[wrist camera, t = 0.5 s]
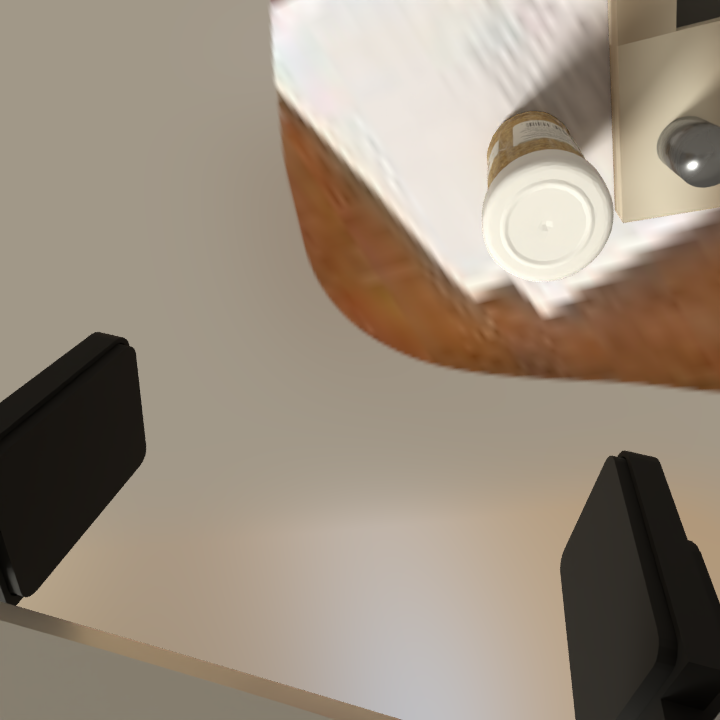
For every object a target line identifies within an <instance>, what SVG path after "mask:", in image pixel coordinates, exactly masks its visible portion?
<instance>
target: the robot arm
mask: <svg viewBox="0 0 720 720" xmlns="http://www.w3.org/2000/svg"><path fill="white" fill-rule="evenodd" d="M145 454H146V441H145V432H144V423H143V415H142V405H141V396H140V387H139V378H138V368H137V360H136V352H135V350H134V348H133V347H130V346H129V343H128V341H127V340H126V339H125V338H123V337H118V336H114V335H109V334H105V333H101V332H95V333H93V334H91V335H90V336H89V337H87V338H86V339H85V340H84V341H82V342H81V343H79V344H78V345H77V346H75V347H74V348H73V349H71V350H70V351H69V352H67V353H66V354H65V355H63V356H62V357H61V358H59V359H58V360H57V361H55V362H54V363H53V364H51V365H50V366H49V367H47V368H46V369H45V370H43V371H42V372H41V373H40V374H38V375H37V376H35V377H34V378H33V379H31V380H30V381H29V382H27V383H26V384H25V385H24V386H22V387H21V388H19V389H18V390H17V391H15V392H14V393H13V394H11V395H10V396H9V397H7V398H6V399H5V400H3V401H2V402H1V403H0V720H401V719H398V718H394V717H391V716H388V715H384V714H381V713H377V712H374V711H371V710H367V709H364V708H361V707H358V706H354V705H351V704H348V703H344V702H341V701H338V700H335V699H331V698H328V697H324V696H321V695H318V694H315V693H311V692H308V691H305V690H301V689H297V688H294V687H291V686H288V685H284V684H281V683H278V682H274V681H271V680H267V679H264V678H261V677H257V676H254V675H250V674H247V673H244V672H240V671H237V670H234V669H230V668H227V667H224V666H220V665H217V664H213V663H210V662H206V661H203V660H200V659H196V658H193V657H190V656H186V655H183V654H179V653H176V652H173V651H169V650H166V649H163V648H159V647H155V646H152V645H149V644H146V643H142V642H138V641H135V640H132V639H128V638H124V637H121V636H118V635H114V634H110V633H107V632H104V631H101V630H97V629H94V628H90V627H87V626H83V625H80V624H76V623H73V622H70V621H66V620H63V619H59V618H56V617H52V616H49V615H45V614H42V613H39V612H35V611H32V610H28V609H25V608H21V607H18V606H16V605H17V604H18V603H19V601H20V600H21V599H22V598H23V597H28V596H31V595H32V594H34V593H35V592H36V591H37V590H38V588H39V587H40V586H41V585H42V584H43V582H44V581H45V580H46V579H47V578H48V576H49V575H50V574H51V573H52V571H53V570H54V569H55V568H56V566H57V565H58V564H59V563H60V562H61V561H62V559H63V558H64V557H65V556H66V555H67V553H68V552H69V551H70V550H71V549H72V547H73V546H74V544H76V542H77V541H78V540H79V539H80V538H81V536H82V535H83V534H84V533H85V531H86V530H87V529H88V528H89V527H90V526H91V524H92V523H93V522H94V521H95V519H96V518H97V517H98V516H99V515H100V513H101V512H102V511H103V510H104V509H105V507H106V506H107V505H108V504H109V503H110V501H111V500H112V499H113V498H114V496H115V495H116V494H117V493H118V492H119V490H120V489H121V488H122V487H123V486H124V484H125V483H126V482H127V481H128V480H129V478H130V477H131V476H132V475H133V473H134V472H135V471H136V470H137V469H138V467H139V466H140V465H141V463H142V462H143V459H144V457H145ZM560 573H561V582H562V593H563V602H564V612H565V622H566V631H567V641H568V650H569V661H570V670H571V680H572V690H573V699H574V709H575V719H576V720H720V603H719V600H718V598H717V595H716V592H715V590H714V587H713V584H712V582H711V579H710V576H709V573H708V571H707V568H706V565H705V563H704V560H703V558H702V555H701V552H700V551H699V549H698V547H697V545H696V544H694V543H693V542H692V541H689V540H687V537H686V534H685V531H684V528H683V526H682V523H681V520H680V518H679V514H678V512H677V509H676V506H675V503H674V500H673V498H672V495H671V492H670V489H669V486H668V484H667V481H666V478H665V476H664V472H663V470H662V467H661V464H660V462H659V460H658V459H657V458H655V457H651V456H647V455H642V454H638V453H633V452H628V451H622V452H621V453H620V454H619V455H618V457H615V456H609V457H608V458H607V460H606V462H605V463H604V466H603V468H602V470H601V472H600V474H599V476H598V478H597V481H596V483H595V485H594V487H593V489H592V491H591V493H590V496H589V498H588V500H587V502H586V504H585V506H584V508H583V511H582V513H581V515H580V517H579V519H578V521H577V524H576V526H575V528H574V530H573V532H572V534H571V536H570V539H569V541H568V543H567V545H566V547H565V550H564V552H563V555H562V558H561V567H560Z"/></svg>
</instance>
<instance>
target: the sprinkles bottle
mask: <svg viewBox="0 0 720 720" xmlns="http://www.w3.org/2000/svg"><path fill="white" fill-rule="evenodd" d="M487 161H488V173H487V183H488V190H487V193H486V195H485V199H484V202H483V208H482V233H483V238H484V242H485V245H486V248H487V250H488V252H489V253H490V255H491V257H492V258H493V259H494V261H495V262H496V263H497V264H498V265H499V266H500V267H501V268H503V269H504V270H505V271H506V272H508V273H510V274H511V275H514V276H516V277H518V278H521V279H524V280H529V281H536V282H547V281H555V280H559V279H563V278H566V277H568V276H571V275H573V274H575V273H577V272H579V271H580V270H582V269H583V268H585V267H586V266H587V265H589V264H590V263H591V262H592V261H593V260H594V259H595V258H596V257H597V256H598V255H599V253H600V252H601V251H602V249H603V247H604V246H605V244H606V242H607V240H608V238H609V235H610V233H611V229H612V224H613V203H612V198H611V195H610V193H609V190H608V188H607V186H606V184H605V182H604V180H603V179H602V177H601V176H600V174H599V173H598V171H597V170H596V169H595V168H594V167H593V166H592V165H591V164H590V163H589V162H588V161H587V160H586V159H585V158H584V156H583V155H582V153H581V151H580V150H579V148H578V147H577V146H576V144H575V143H574V141H573V140H572V138H571V137H570V134H569V132H568V130H567V129H566V127H565V126H564V124H563V123H562V122H560V121H559V120H558V119H557V118H555V117H553V116H552V115H550V114H548V113H545V112H538V111H529V112H525V113H521V114H517V115H515V116H513V117H512V118H510V119H508V120H507V121H505V122H504V123H503V124H502V125H501V126H500V127H499V128H498V130H497V131H496V132H495V134H494V135H493V137H492V140H491V142H490V145H489V148H488V152H487Z"/></svg>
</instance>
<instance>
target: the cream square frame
mask: <svg viewBox="0 0 720 720" xmlns="http://www.w3.org/2000/svg"><path fill="white" fill-rule="evenodd" d="M608 24H609V53H610V81H611V110H612V138H613V167H614V195H615V211H616V212H617V214H618V216H619V217H620V219H621V220H622V222H623V223H626V222H632V221H638V220H644V219H651V218H657V217H663V216H669V215H675V214H681V213H687V212H693V211H699V210H705V209H711V208H717V207H720V0H608Z"/></svg>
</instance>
